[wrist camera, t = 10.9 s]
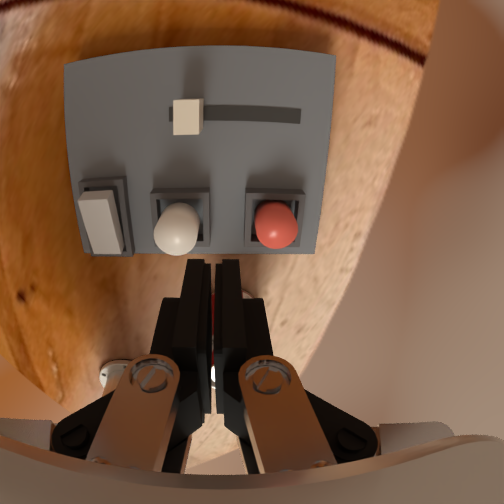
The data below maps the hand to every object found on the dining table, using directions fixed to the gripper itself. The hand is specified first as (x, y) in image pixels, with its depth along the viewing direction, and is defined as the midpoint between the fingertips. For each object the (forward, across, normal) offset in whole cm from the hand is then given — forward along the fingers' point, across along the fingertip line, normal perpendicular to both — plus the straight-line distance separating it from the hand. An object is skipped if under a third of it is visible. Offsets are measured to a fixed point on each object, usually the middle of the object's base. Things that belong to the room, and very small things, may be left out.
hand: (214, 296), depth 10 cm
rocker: (+18, +12, +5) cm, 23 cm away
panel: (+23, +3, -1) cm, 23 cm away
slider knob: (+20, +3, -5) cm, 20 cm away
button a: (+20, -5, +5) cm, 21 cm away
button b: (+19, +4, +5) cm, 20 cm away
